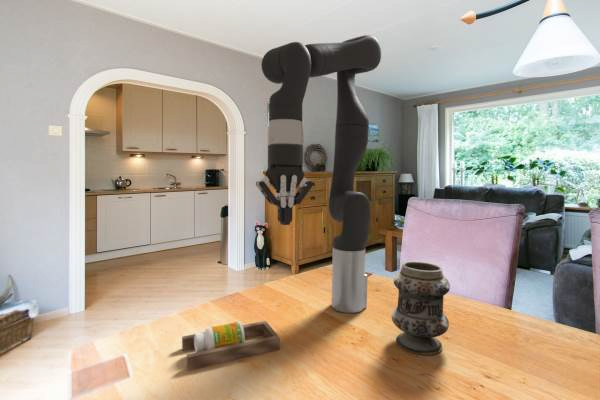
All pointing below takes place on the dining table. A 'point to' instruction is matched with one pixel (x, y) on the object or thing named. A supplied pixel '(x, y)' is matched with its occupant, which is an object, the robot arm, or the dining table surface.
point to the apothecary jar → (420, 307)
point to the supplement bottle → (219, 337)
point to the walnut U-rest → (233, 347)
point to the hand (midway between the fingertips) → (284, 224)
